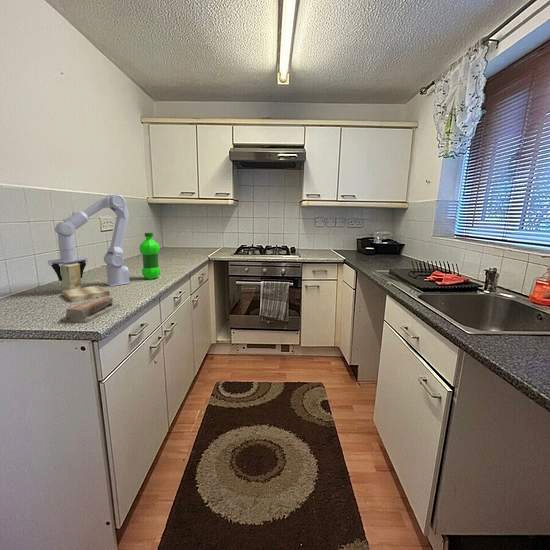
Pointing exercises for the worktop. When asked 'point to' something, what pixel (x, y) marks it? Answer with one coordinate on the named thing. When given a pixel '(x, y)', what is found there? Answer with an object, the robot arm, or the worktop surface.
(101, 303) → the brown rectangular block
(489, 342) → the worktop surface
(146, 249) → the plastic bottle
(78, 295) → the wooden base
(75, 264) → the skincare box
